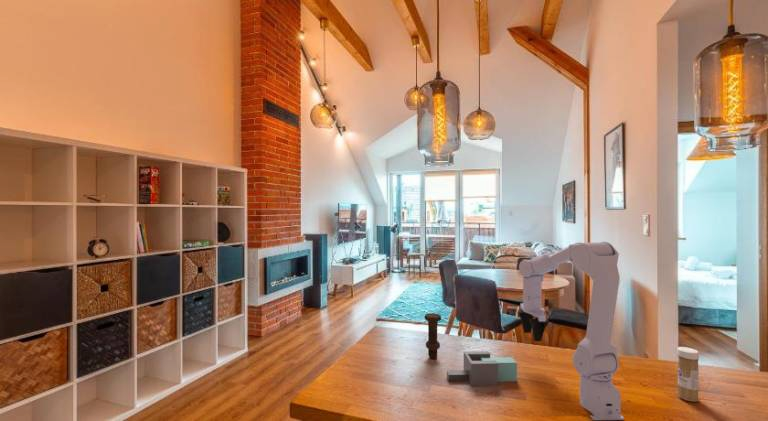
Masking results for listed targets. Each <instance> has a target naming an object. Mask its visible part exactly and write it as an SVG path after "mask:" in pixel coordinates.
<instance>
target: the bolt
mask: <svg viewBox="0 0 768 421" xmlns="http://www.w3.org/2000/svg"><path fill="white" fill-rule="evenodd" d="M424 320H425V321H427V326H428V328H427V335H428V340H427V341H426V342H425V347H426V348H427V350H428V352H427V354H428V357H429V359H431V360H432V359H433V360H436V359H437V358H438V350H439V349H440V347H441V344H440V342H439V341H438V322H440V321H441V320H442V316H441V315H440V314H438V313H434V312H433V313H432V312H431V313H430V312H429V313H426V314H425V315H424Z"/></svg>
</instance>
